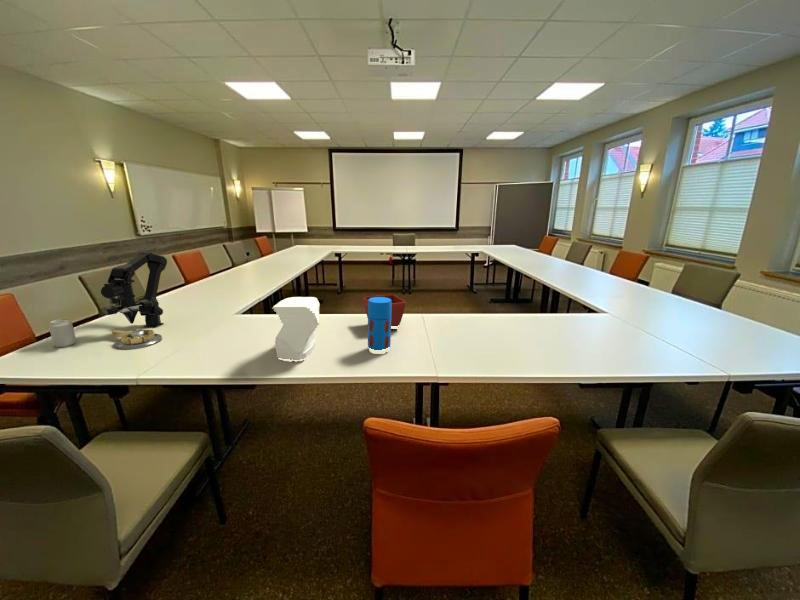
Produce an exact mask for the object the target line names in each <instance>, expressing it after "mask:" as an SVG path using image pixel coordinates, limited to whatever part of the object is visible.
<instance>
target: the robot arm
mask: <svg viewBox="0 0 800 600" xmlns="http://www.w3.org/2000/svg"><path fill="white" fill-rule="evenodd" d="M145 264H146V266H147V268H148V270H149V273H148V277H147V283H146V289H145V291H144V292H145V293H144V296H143V297H142V298H139V299H138V301H137V302H136V300H135V299H136V295H135V294H134V289H133V285H132V283H135V282H136V281H135V280H134V279H132V278H133V277H134V276H135V275H136V271H138V270H139V269H140V268H142V267H143V266H144V265H145ZM167 264H168V261H167V258H166V257H165V256H163V255H157V254H155V253H152V252H144V251H143V252H140V253H139V254H138V255H137V256H135V257H133V258H132V259H131V260H129V261H127V263H125V264H121V265H117V266H115V267H113V268H112V269H111V270H110V272H109V273H110V274H109V277H108V279H107V281H106V282H107V283H104V284H103V287H101V289H100V294H101V296H102V297H104V299H105V298H106V299H109V303H110V306H105V307H103V308H102V314H104V315H107V316H112V315H117V314H118V313H120V314H122V315H124V316H125V318H126V319H127V321H128V322H129V324H131V325H132V324H134V321H135V319H136V316H137V314H138V313H139V314H140V316H143V317H144V322H145V325H144V326H143V328H153V329H155V328H158V327H159V326H161V325H164V323H165V322H162V320H161V316H162V315H163V313H164V309H163V308H162V307H160V306H159V305H160V303H159V301H158V298H157V297H158V296H157V294H158V290H159V285H160V279H161V274H162V273H163V271H164V270H165V269H166V267H167ZM116 297H117V298H116ZM113 305H115V306H113Z"/></svg>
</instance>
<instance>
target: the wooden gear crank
mask: <svg viewBox="0 0 800 600" xmlns="http://www.w3.org/2000/svg"><path fill="white" fill-rule="evenodd" d="M136 330H144V334H145V335H144V336H141V337H139V336H138V335H134V336H133V338H132V337H131V331H126V330H121V329H116V330H113V331H111V334H112V337H114V338H120V339H121V341H122V343H124V344H137V343H143V342H147V341H149V340H152V339H154V336H155V335H154V334H155V331H154V330H153V329H151V330H150V329H142V328H141V327H139V328H137V329H136Z"/></svg>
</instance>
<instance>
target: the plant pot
mask: <svg viewBox="0 0 800 600" xmlns="http://www.w3.org/2000/svg"><path fill="white" fill-rule="evenodd" d="M373 297H385V298H389V299H391V303H392V306H391V326H398V325H399V326H400V324H401V322H402V319H403V315H404V312H405V307H406V301H405V300H403V299H401V298H400V297H398V296H397V295H395V294H381V295H380V294H379V295H367V296H363V297H362V298H363V305H364V310H365V313H366V317H367V319H368V300H369V299H370V298H373Z"/></svg>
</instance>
